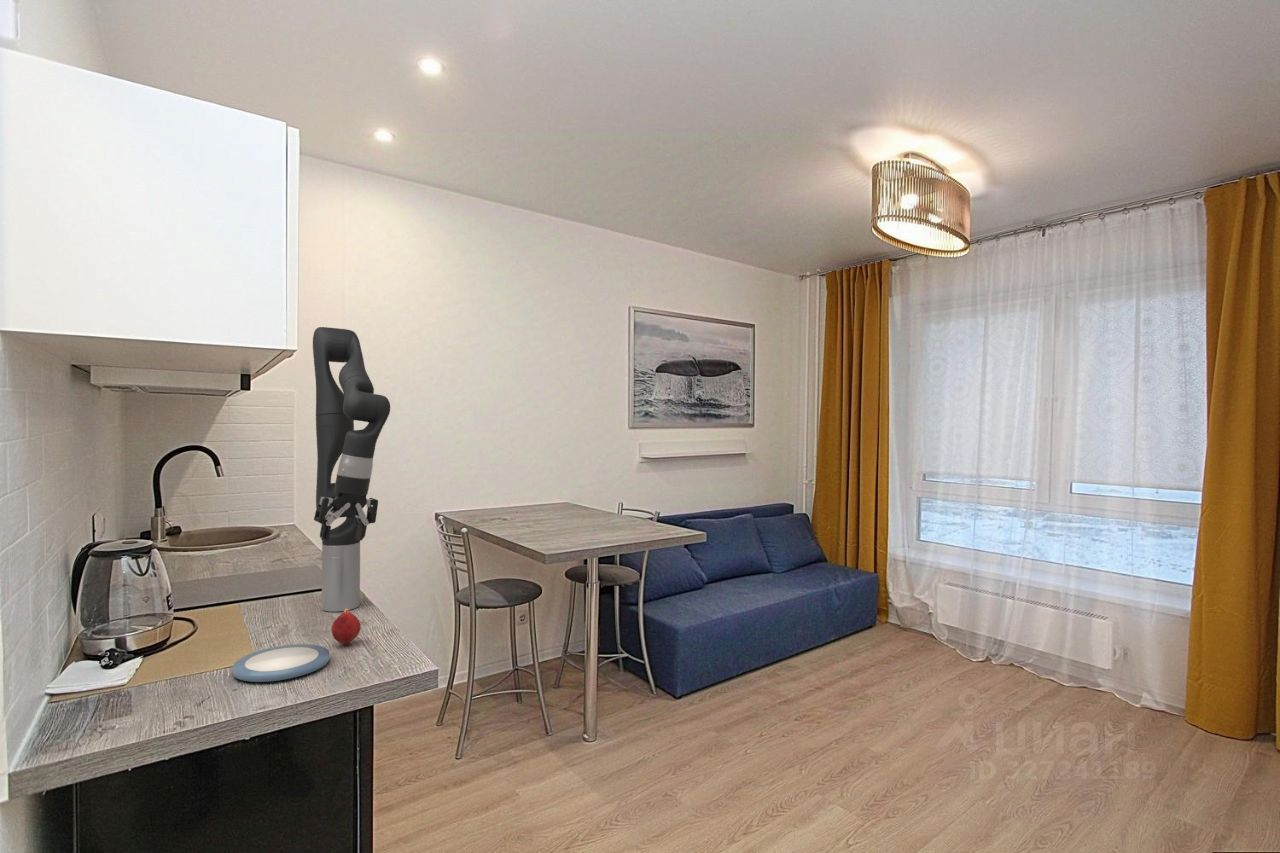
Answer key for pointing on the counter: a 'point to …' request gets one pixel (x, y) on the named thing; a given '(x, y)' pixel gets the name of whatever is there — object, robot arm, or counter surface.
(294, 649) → the dish
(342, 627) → the onion
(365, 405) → the robot arm
